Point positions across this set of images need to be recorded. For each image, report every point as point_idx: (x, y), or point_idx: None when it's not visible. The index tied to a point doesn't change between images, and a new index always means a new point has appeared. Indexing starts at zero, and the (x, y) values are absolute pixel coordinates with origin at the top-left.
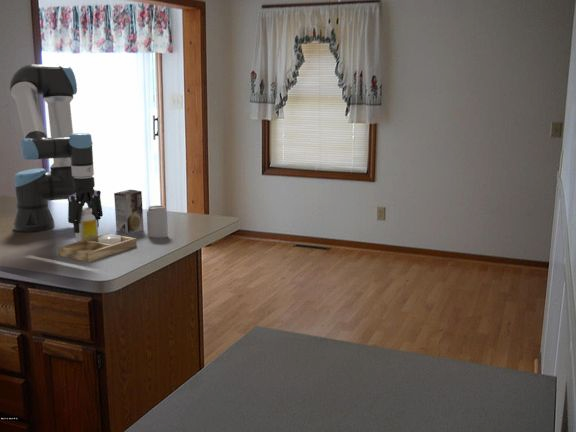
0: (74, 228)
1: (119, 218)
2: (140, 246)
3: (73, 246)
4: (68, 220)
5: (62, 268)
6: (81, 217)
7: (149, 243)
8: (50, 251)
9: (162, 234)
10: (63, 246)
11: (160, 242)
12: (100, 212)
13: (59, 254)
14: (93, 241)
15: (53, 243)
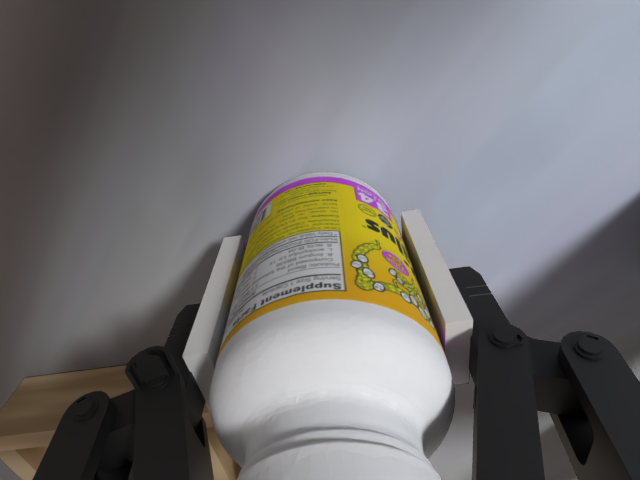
0: (172, 346)
1: None
2: (447, 454)
3: None
4: (61, 429)
5: (5, 474)
6: (239, 463)
7: None
8: (3, 232)
9: None
10: (16, 440)
11: (553, 462)
12: (577, 447)
13: (11, 401)
14: (218, 461)
15: (88, 16)
